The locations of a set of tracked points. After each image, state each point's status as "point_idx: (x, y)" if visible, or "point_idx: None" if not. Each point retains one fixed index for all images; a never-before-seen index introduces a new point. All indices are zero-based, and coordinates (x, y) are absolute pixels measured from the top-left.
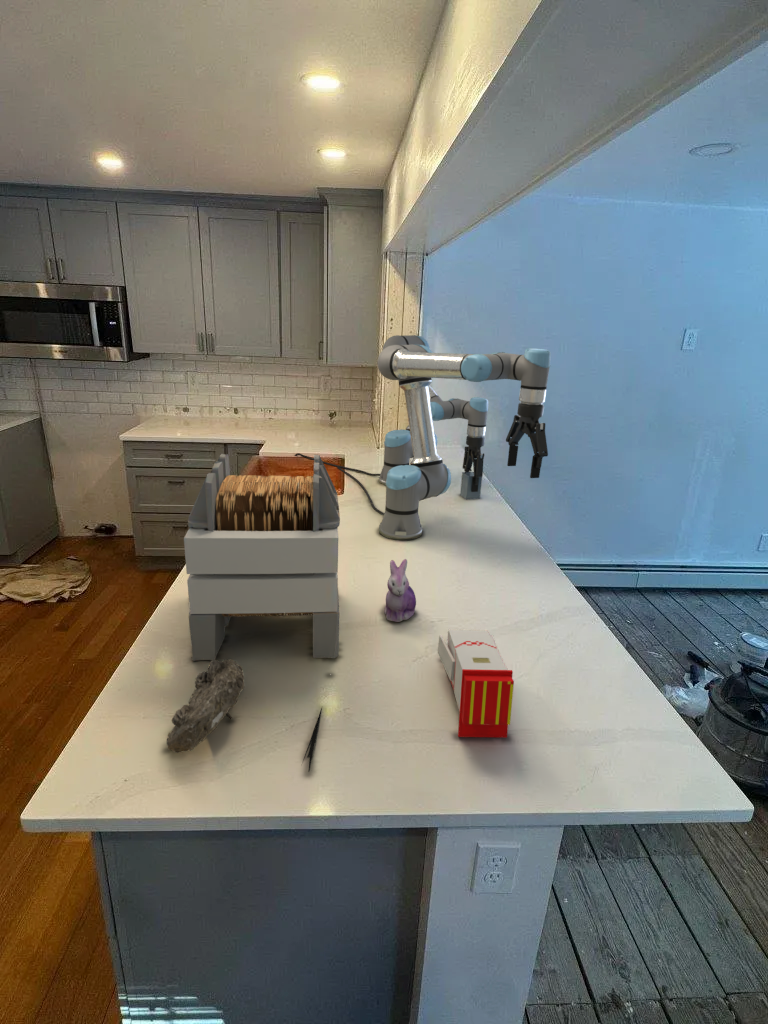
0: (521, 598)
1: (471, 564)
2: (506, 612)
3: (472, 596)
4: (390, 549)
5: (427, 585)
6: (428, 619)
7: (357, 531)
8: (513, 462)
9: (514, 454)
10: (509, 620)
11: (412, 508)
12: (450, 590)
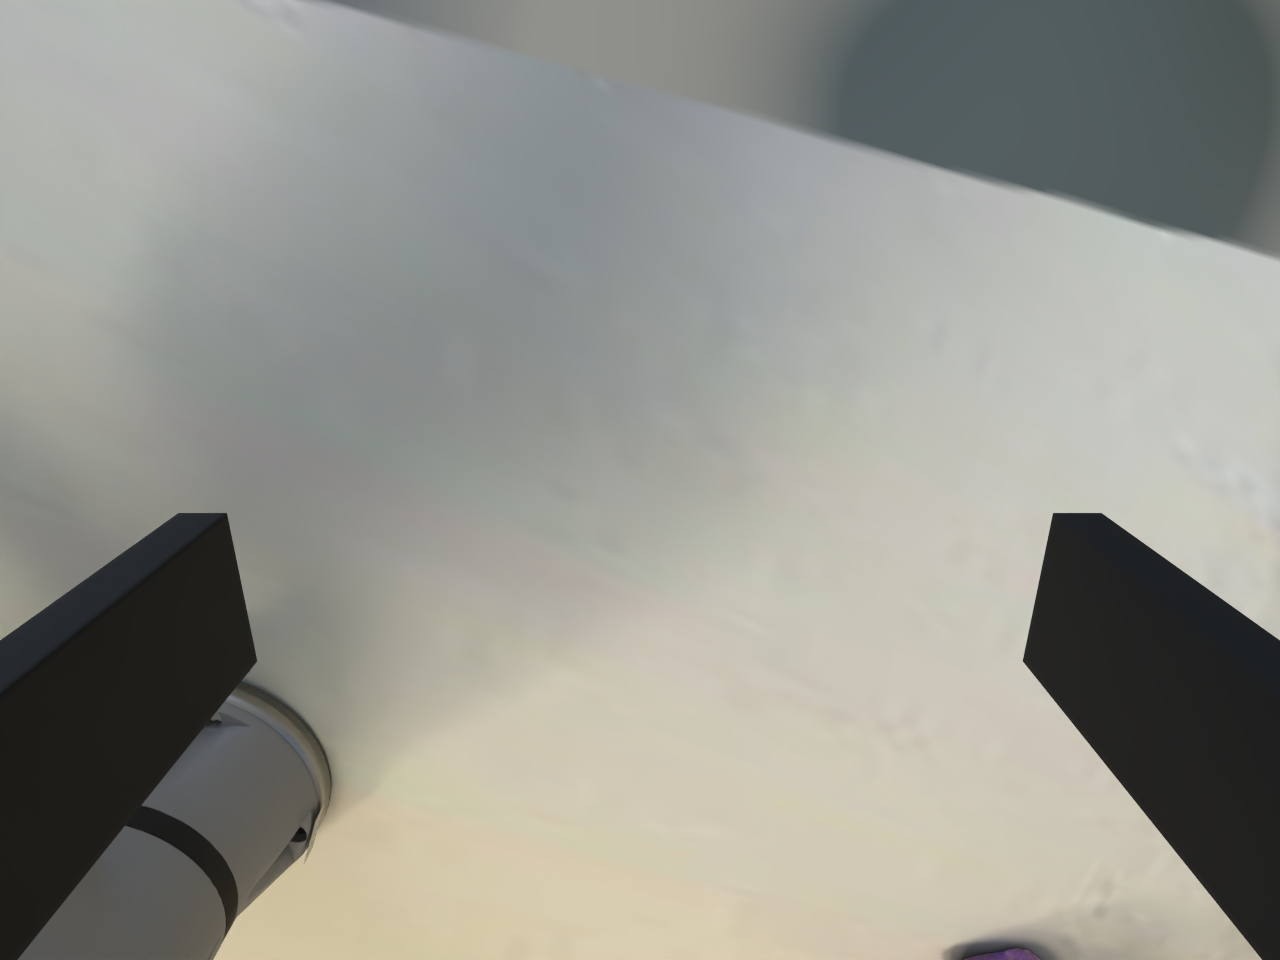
0: None
1: (686, 588)
2: None
3: (994, 719)
4: (435, 868)
5: (834, 841)
6: (1080, 917)
7: None
8: (202, 610)
9: (82, 727)
10: None
11: (204, 894)
12: (909, 778)
